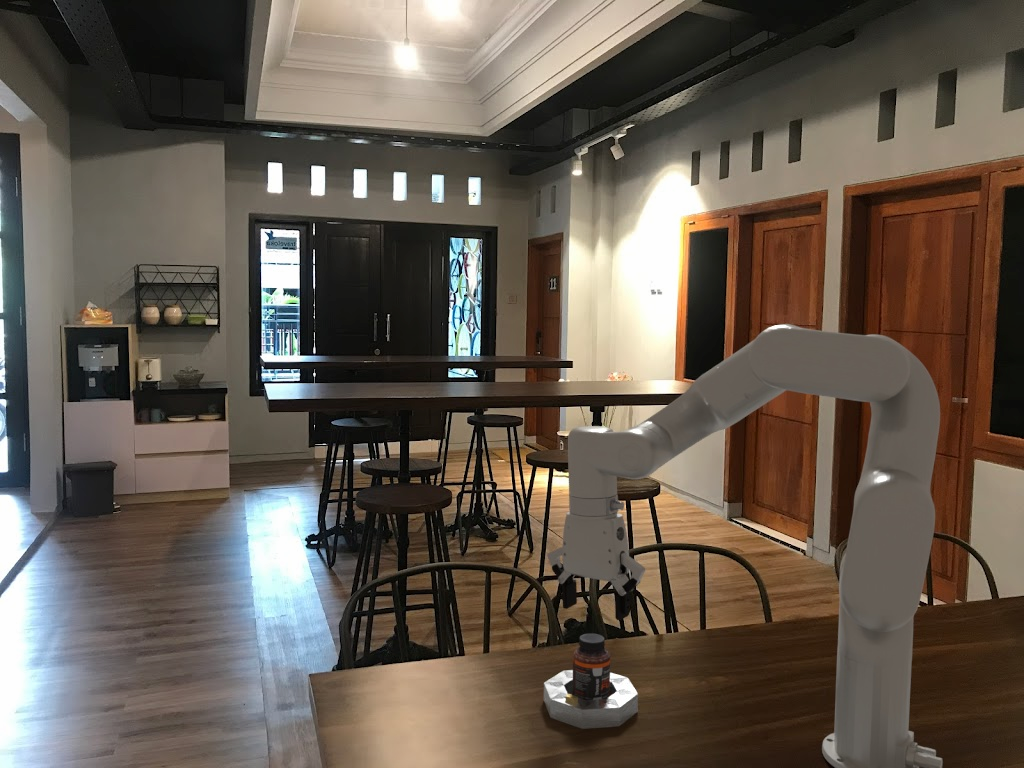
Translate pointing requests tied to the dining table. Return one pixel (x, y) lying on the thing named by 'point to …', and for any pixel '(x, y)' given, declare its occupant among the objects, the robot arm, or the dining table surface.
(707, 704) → the dining table surface
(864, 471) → the robot arm
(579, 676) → the supplement bottle
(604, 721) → the grey octagonal ring
